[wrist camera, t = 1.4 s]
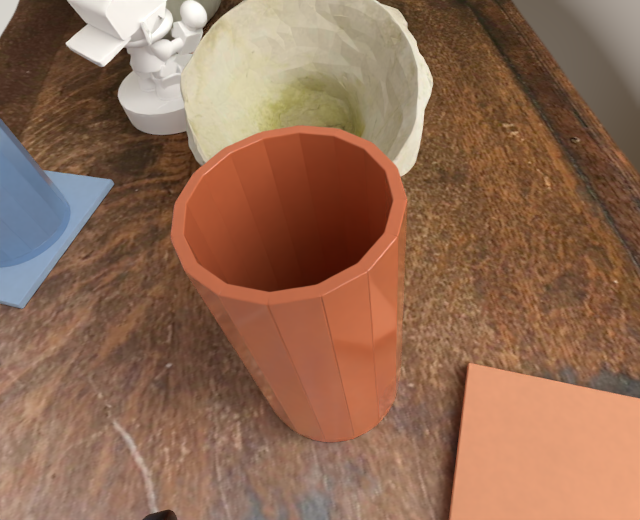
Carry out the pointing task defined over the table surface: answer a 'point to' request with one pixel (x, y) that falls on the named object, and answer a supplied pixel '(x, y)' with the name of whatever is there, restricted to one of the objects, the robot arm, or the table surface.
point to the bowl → (307, 76)
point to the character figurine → (143, 54)
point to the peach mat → (544, 450)
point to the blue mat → (27, 277)
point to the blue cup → (26, 204)
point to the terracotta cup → (303, 271)
